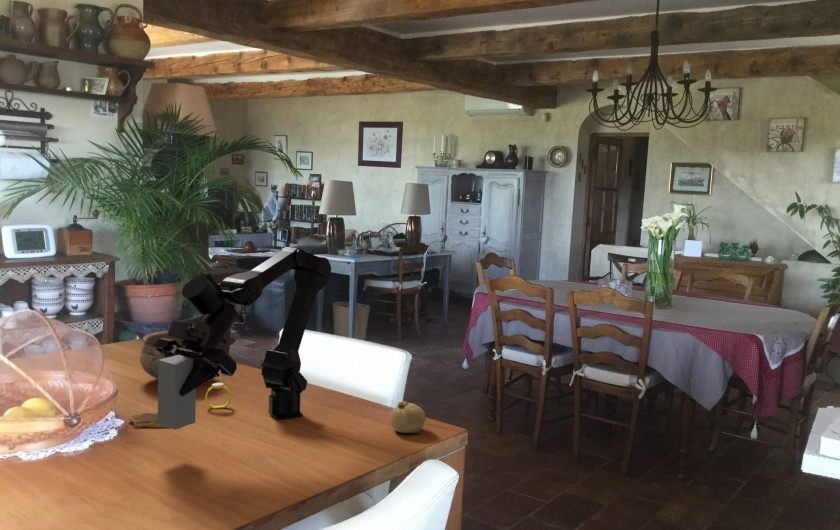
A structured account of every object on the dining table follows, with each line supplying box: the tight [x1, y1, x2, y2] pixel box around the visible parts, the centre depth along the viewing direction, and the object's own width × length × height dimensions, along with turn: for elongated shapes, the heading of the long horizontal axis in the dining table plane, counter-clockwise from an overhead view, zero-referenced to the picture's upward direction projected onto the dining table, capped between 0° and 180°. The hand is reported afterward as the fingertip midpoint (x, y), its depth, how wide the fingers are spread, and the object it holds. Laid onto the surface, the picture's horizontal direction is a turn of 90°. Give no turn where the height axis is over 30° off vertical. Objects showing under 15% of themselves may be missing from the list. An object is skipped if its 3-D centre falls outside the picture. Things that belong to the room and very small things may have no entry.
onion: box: [389, 400, 427, 434], centre depth 160 cm, size 8×8×7 cm
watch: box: [204, 382, 232, 410], centre depth 171 cm, size 6×3×6 cm, turn 101°
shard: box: [128, 411, 167, 429], centre depth 158 cm, size 11×8×2 cm
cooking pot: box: [139, 330, 191, 380], centre depth 191 cm, size 25×19×12 cm
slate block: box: [157, 355, 197, 431], centre depth 139 cm, size 5×5×13 cm
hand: (171, 392), depth 138 cm, fingers closed on slate block, 5 cm apart
